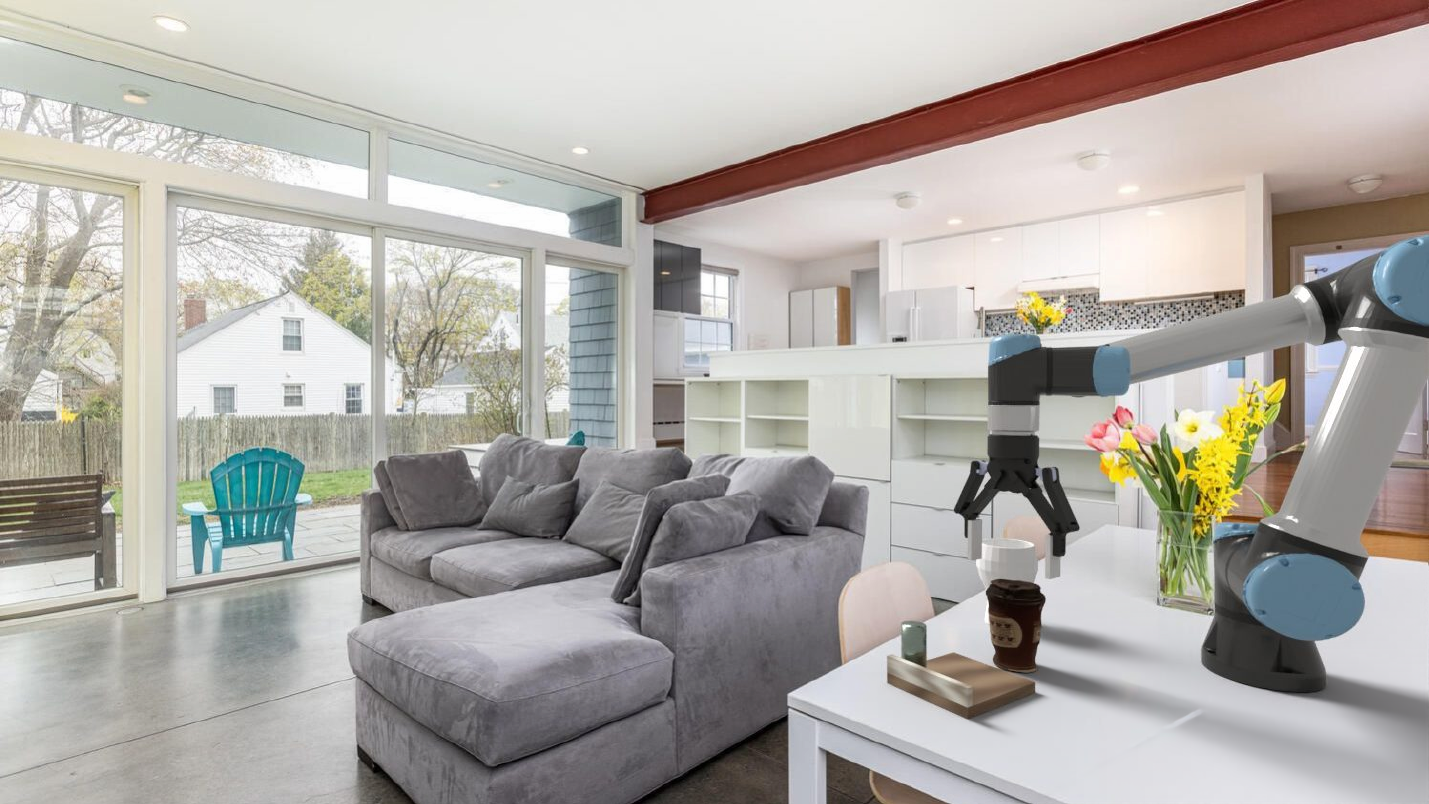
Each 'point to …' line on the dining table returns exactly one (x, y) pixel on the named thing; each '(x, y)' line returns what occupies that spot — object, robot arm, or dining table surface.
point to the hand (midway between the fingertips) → (1011, 567)
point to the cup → (1006, 562)
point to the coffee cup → (1015, 623)
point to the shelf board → (958, 683)
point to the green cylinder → (914, 642)
